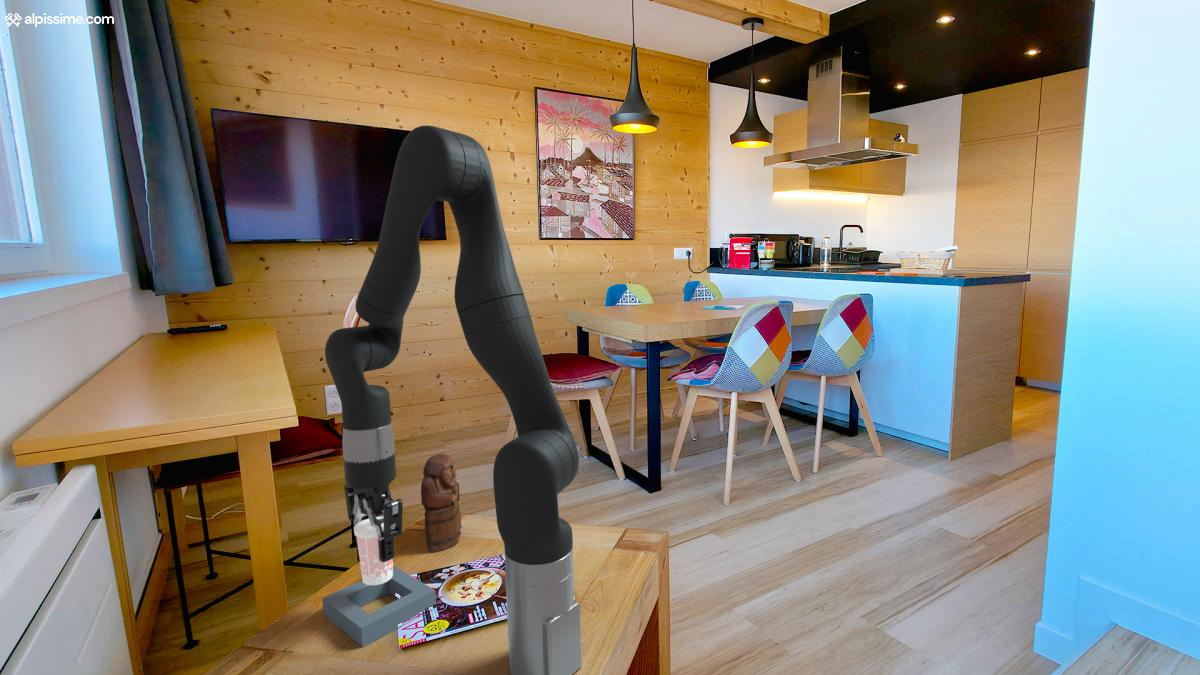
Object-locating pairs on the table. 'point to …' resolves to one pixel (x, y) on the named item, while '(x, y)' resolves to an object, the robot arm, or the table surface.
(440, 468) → the wooden figurine
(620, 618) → the table surface
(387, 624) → the hole plate
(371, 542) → the beverage cup
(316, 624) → the table surface
